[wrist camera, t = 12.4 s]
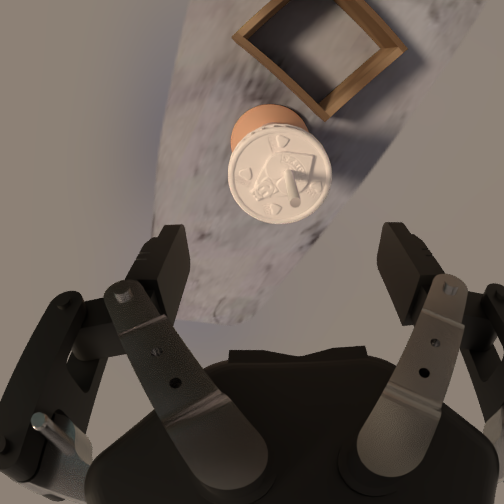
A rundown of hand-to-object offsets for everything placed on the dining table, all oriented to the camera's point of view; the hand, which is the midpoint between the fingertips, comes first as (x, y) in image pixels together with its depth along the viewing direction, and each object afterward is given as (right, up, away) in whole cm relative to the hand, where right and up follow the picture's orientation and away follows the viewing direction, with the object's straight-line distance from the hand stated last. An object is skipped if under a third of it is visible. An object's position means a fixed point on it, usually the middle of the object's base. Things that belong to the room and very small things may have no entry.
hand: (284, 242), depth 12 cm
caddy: (+4, +17, +9) cm, 20 cm away
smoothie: (+1, +9, +14) cm, 17 cm away
